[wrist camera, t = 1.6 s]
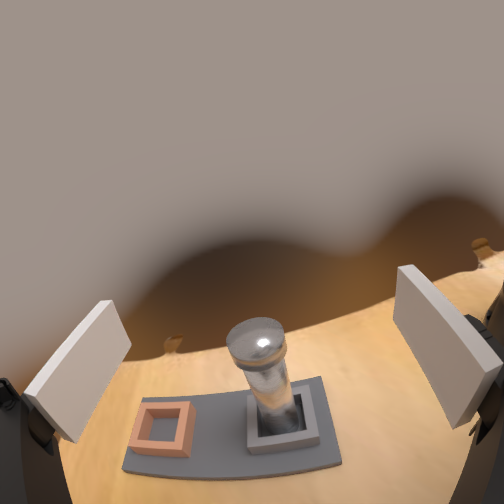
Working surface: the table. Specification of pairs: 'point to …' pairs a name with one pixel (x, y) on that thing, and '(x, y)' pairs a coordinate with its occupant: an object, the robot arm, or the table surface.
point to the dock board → (230, 437)
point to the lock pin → (265, 371)
